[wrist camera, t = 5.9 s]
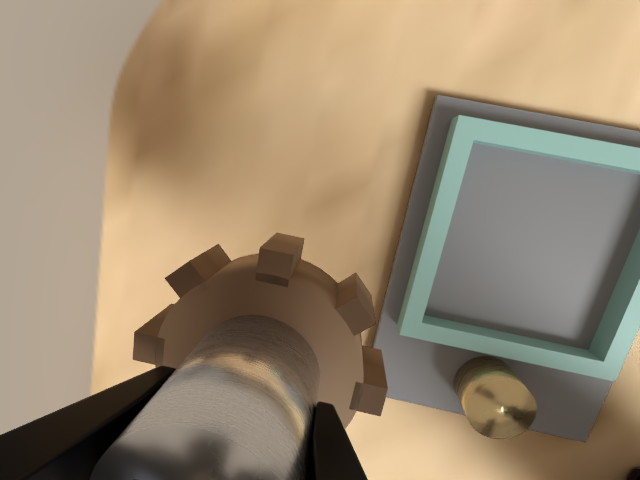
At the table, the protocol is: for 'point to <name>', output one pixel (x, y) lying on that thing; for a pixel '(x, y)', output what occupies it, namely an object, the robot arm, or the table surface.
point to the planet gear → (248, 368)
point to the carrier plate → (515, 270)
